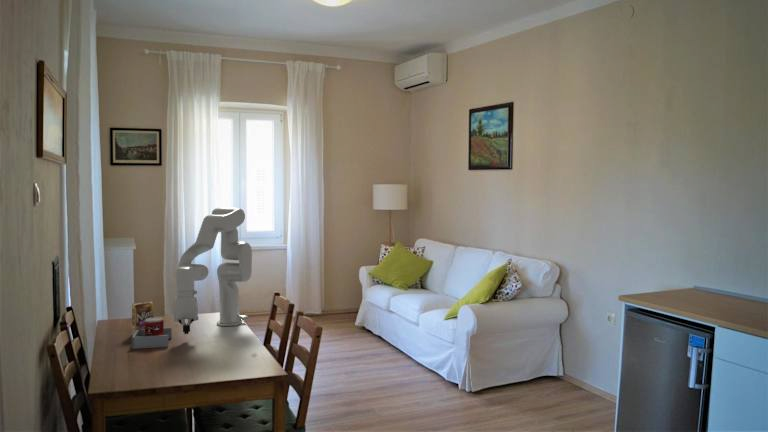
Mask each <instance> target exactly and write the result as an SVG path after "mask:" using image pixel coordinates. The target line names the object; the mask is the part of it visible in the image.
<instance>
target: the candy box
mask: <svg viewBox="0 0 768 432" xmlns="http://www.w3.org/2000/svg"><path fill="white" fill-rule="evenodd" d="M148 318H154V302H153V301H144V302H138V303H137V302H136V303H135V302H134V303H132V304H131V335H132V336H133V335H134V333H135V332H136V330H137V329H145V320H146V319H148Z"/></svg>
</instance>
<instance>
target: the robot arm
mask: <svg viewBox="0 0 768 432" xmlns="http://www.w3.org/2000/svg"><path fill="white" fill-rule="evenodd" d="M245 219H246V214H245V211H244V210H243V209H242V208H239V207H217V208H214V209H213V210H212V211H211V214H209V215H206V216H205V217H204V218H203V220H202V223H201V226H200V228H199V231H198V234H197V238H196V239H195V240H196V241H194V242H193V244H192V245H191V246H189V247H188V248H187V249H186V250H185V251H184V253H182V255H181V257H180V259H179V262H178V265H177V268H176V271H175V280H176V281H175V282H176V284H175V285H176V296H174V297H175V298H174V306H173V322H175V323H179V324H180V325H182V333H184V335H189V332H191V324H192V323H193V322H196V321H198V320H199V311H198V301H197V300H198V299H197V294H198V290H195V281H196V282H197V281H198V282H199V281H203V280H205V279H206V278H207V277H208V275H209V269H208V267H207V266H206V265H205V264H200V263H199V264H197V263H192V262H193V261H194V259H196V258H197V257H199V255H201V254H204V253H206V252H208V251H211V250H212V249H213V248H214V246H215V243H216V240H217V236H218V234H219V233H220V256H221V258H222V259H224V260H229V261H238V262H228V261H227V262H223V263H221V264H219V265H218V266H217V270H216V276H217V279H218V285H219V286H218V288H219V289H218V290H219V320H217V321H216V325H218V326H221V327H234V326H239V325H241V324H243V320H246V321H247V320H248V321H249V315H240V314H241V313H240V312H239V311H240V308H239V307H240V305H239V303H240V301H239V300H240V299H239V298H240V297H239V295H240V294H239V286H238V284H237V283H236V282H238V283H246V282H248V281H249V280H250V279H251V277H252V271H253V269H252V266H253V262H252V261H253V249H252V245H251V244H250V243H248V242H246V241H239V230H238V227H239V226H241V225H242V224H243V223H244V222H245ZM241 319H242V320H241ZM186 320H187V323H186Z"/></svg>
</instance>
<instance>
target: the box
mask: <svg viewBox="0 0 768 432" xmlns="http://www.w3.org/2000/svg"><path fill="white" fill-rule="evenodd" d="M172 333H173V331H172V327H164V335H157V336H145V329H137V330H136V332H135V333H134V335H132V336H131V349H132V350H133V349H134V350H135V349H136V350H137V349H148V348H149V349H150V348H166V347H169V345H170V344H169V340H170V339H171V340H172V338H173V337H172V336H173V334H172Z"/></svg>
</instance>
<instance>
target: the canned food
mask: <svg viewBox="0 0 768 432" xmlns="http://www.w3.org/2000/svg"><path fill="white" fill-rule="evenodd" d="M164 324H165V323H164V317H159V316H158V317H153V318H148V319H146V320H145V336H157V335H164V328H165V327H164Z"/></svg>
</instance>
